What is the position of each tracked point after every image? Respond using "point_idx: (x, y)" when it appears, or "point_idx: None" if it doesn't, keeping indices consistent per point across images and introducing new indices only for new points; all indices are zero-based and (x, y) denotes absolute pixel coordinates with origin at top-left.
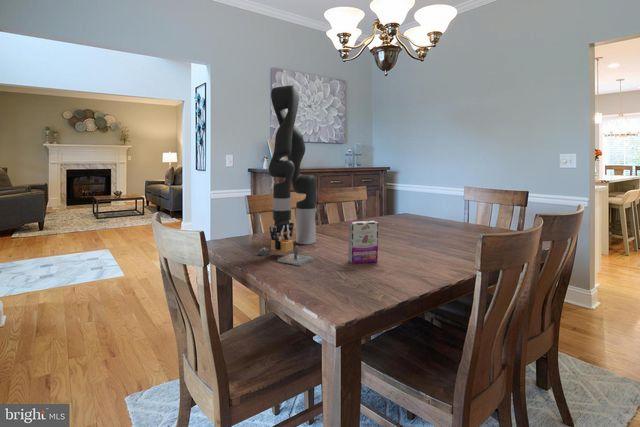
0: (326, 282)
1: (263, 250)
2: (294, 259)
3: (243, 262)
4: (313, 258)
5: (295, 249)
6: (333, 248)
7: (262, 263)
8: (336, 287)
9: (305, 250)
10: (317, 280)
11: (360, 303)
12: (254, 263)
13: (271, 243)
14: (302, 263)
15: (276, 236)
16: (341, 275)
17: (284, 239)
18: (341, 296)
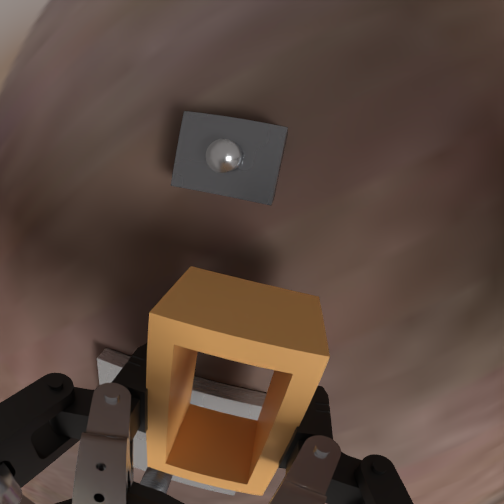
0: (58, 484)
1: (197, 168)
2: (141, 438)
3: (12, 154)
4: (228, 490)
5: (142, 481)
6: (477, 468)
7: (40, 274)
8: (53, 491)
9: (445, 401)
10: (52, 472)
11: (35, 498)
12: (21, 228)
13: (165, 302)
14: None
15: (46, 449)
16: None
17: (282, 438)
18: (31, 486)
